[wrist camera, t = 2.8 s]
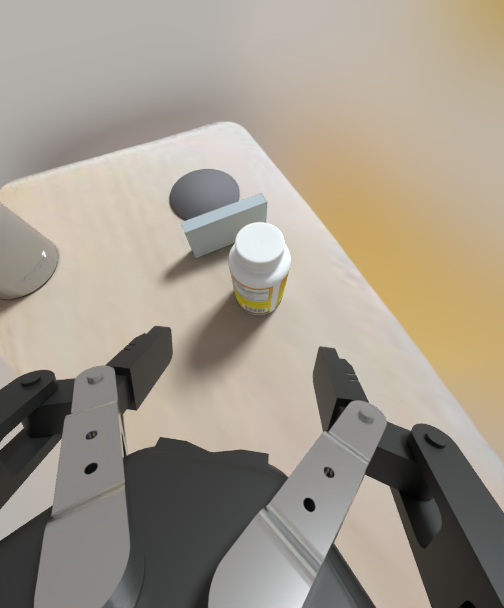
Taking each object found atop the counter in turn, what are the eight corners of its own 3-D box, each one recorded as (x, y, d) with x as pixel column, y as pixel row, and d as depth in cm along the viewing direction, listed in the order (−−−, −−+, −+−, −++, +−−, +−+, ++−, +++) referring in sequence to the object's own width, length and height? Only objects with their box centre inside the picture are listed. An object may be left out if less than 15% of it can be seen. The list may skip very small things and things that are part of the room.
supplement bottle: (267, 267, 29) (273, 204, 20) (290, 304, 27) (309, 253, 18) (227, 286, 28) (213, 229, 19) (248, 325, 26) (244, 284, 17)
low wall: (195, 258, 30) (184, 232, 25) (191, 249, 30) (180, 222, 26) (265, 230, 31) (267, 201, 26) (260, 222, 32) (261, 192, 27)
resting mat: (159, 213, 33) (158, 211, 32) (187, 165, 36) (186, 163, 36) (225, 229, 31) (225, 228, 31) (248, 178, 35) (248, 176, 35)
